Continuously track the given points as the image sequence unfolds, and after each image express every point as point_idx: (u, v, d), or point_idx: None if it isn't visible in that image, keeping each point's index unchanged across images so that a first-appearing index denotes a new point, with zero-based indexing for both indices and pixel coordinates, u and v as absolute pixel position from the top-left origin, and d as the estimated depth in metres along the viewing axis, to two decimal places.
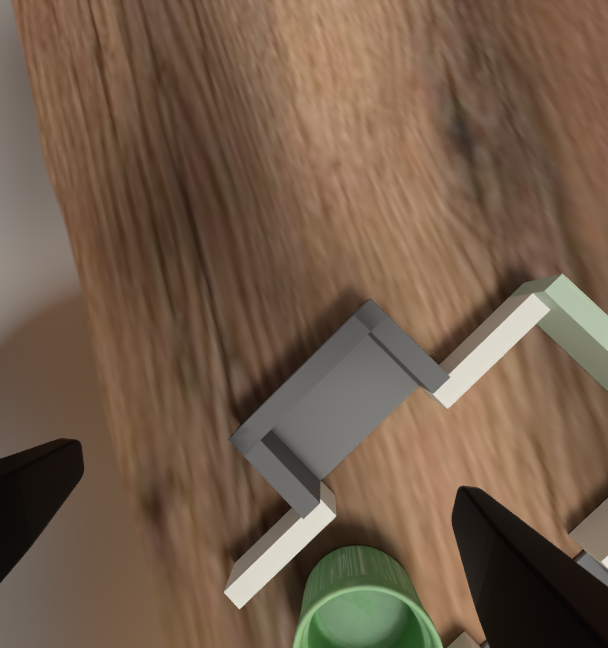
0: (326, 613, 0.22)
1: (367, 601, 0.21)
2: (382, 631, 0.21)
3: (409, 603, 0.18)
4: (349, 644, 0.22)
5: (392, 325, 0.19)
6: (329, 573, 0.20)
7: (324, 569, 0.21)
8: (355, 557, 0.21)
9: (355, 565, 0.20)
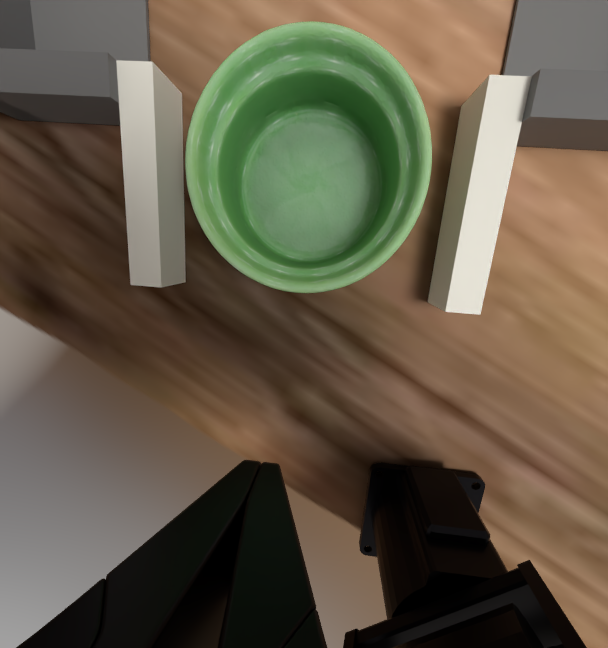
0: (284, 235, 0.15)
1: (314, 175, 0.14)
2: (359, 195, 0.15)
3: (289, 29, 0.10)
4: (336, 246, 0.15)
5: None
6: None
7: None
8: None
9: None
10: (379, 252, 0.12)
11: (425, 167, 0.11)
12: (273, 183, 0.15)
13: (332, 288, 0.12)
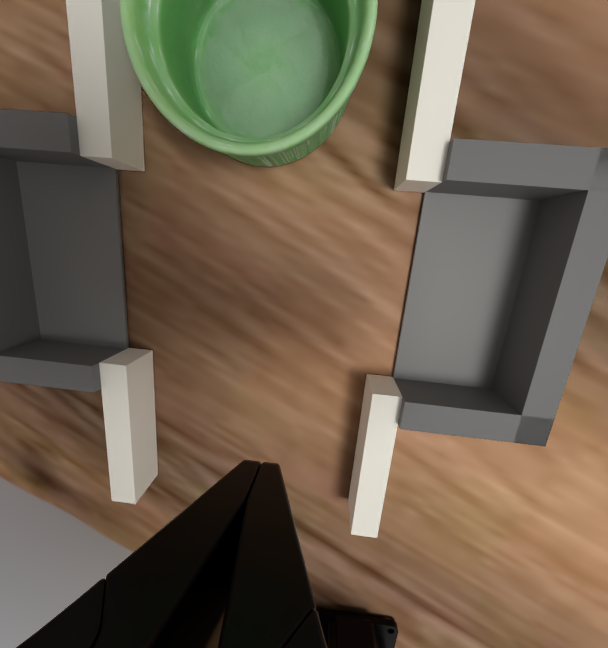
0: (243, 124, 0.15)
1: (268, 53, 0.14)
2: (317, 72, 0.14)
3: None
4: None
5: None
6: None
7: None
8: None
9: None
10: (331, 101, 0.11)
11: None
12: (227, 66, 0.14)
13: (285, 145, 0.11)
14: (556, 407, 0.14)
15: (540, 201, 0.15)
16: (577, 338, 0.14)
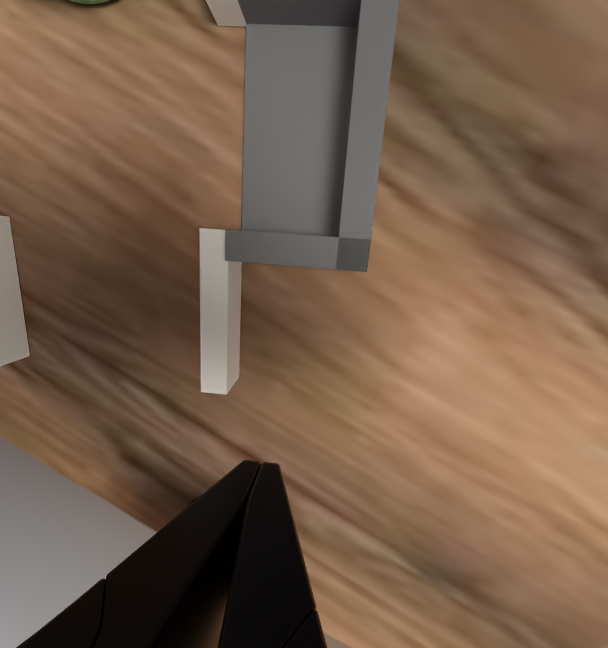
0: None
1: None
2: None
3: None
4: None
5: None
6: None
7: None
8: None
9: None
10: None
11: None
12: None
13: None
14: (371, 226, 0.14)
15: (357, 27, 0.15)
16: (381, 146, 0.14)
